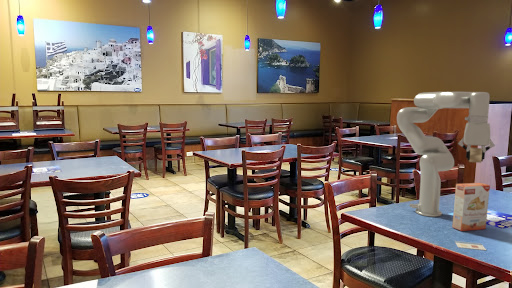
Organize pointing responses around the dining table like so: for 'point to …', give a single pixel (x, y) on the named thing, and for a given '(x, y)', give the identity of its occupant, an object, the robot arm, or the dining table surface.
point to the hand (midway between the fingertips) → (474, 160)
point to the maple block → (475, 155)
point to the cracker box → (470, 206)
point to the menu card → (469, 245)
